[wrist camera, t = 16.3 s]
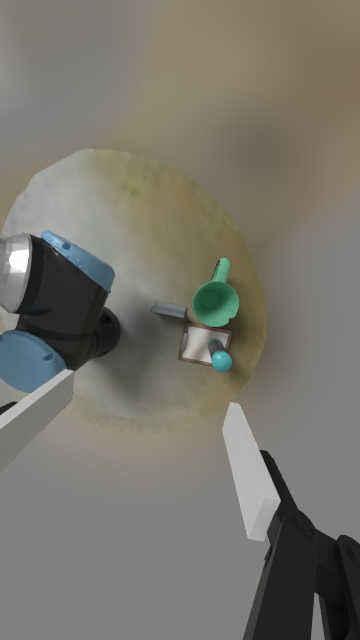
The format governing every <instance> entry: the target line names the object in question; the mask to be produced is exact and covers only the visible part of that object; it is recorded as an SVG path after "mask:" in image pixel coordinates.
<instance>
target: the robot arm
mask: <svg viewBox="0 0 360 640" xmlns="http://www.w3.org/2000/svg"><path fill="white" fill-rule="evenodd" d="M114 276H115V273H114V270H113V268H112V267H111V266H110V265H108V264H107V263H105V262H104V261H102V260H101V259H99V258H97V257H96V256H94V255H92V254H90V253H89V252H87V251H85V250H83V249H82V248H80V247H78V246H77V245H75V244H73V243H71V242H69V241H68V240H66V239H64V238H62V237H60V236H58V235H56V234H54V233H52V232H51V231H48V230H45V231H44V232H43V233H42V234H41V238H38V237H36V236H33V235H31V234H28V233H25V232H23V233H20V234H16V235H13V236H10V237H5V236H1V235H0V305H1V306H2V307H3V308H4V309H5V310H6V311H7V312H8V313H14V314H20V316H19V319H18V323H17V326H16V328H15V329H14V330H8V331H5V332H4V333H3V334H1V335H0V378H1V379H3V380H4V381H5V382H6V383H7V384H9V385H10V386H12V387H14V388H16V389H18V390H20V391H23V392H28V393H31V394H30V395H28V396H27V397H25V398H24V399H23V400H21V401H20V402H11V403H9V404H6V405H5V406H2V407H0V473H1V472H2V471H3V470H4V469H5V468H6V467H7V466H8V465H9V464H10V463H11V462H12V461H13V460H14V459H15V458H16V457H17V456H18V455H19V454H20V453H21V452H22V451H23V450H24V449H25V448H26V446H27V445H28V444H29V443H30V442H31V441H32V440H33V439H34V438H35V437H36V436H37V435H38V434H39V433H40V432H41V431H42V430H43V429H44V428H45V427H46V426H47V425H48V424H49V423H50V422H51V421H52V420H53V419H54V418H55V417H56V416H57V415H58V414H59V413H60V411H62V410H63V409H64V408H65V407H66V406H67V404H68V403H69V402H70V401H71V400H72V394H73V381H74V372H75V371H76V370H78V369H79V368H80V367H81V366H83V365H84V364H85V363H86V362H87V361H89V360H90V359H93V358H97V357H101V356H104V355H106V354H107V353H109V352H110V351H111V350H112V349H113V348H114V347H115V346H116V345H117V343H118V341H119V338H120V325H119V322H118V320H117V318H116V317H115V315H114V314H113V313H112V312H111V311H110V310H109V309H108V308H106V307H104V305H105V302H106V299H107V297H108V294H109V293H110V292H111V290H110V289H111V286H112V283H113V280H114ZM222 431H223V436H224V440H225V444H226V448H227V452H228V457H229V461H230V465H231V469H232V473H233V477H234V481H235V486H236V490H237V494H238V498H239V503H240V507H241V511H242V515H243V519H244V523H245V528H246V532H247V536H248V539H252V540H257V541H262V542H263V541H264V539H265V537H266V534H267V535H268V538H269V541H270V544H271V545H270V547H269V550H268V552H267V554H266V556H265V559H264V560H265V564H264V568H263V571H262V575H261V578H260V581H259V585H258V588H257V592H256V595H255V599H254V602H253V606H252V610H251V612H250V616H249V619H248V623H247V626H246V630H245V633H244V637H243V640H311V629H312V617H313V604H314V592H315V593H317V594H318V595H319V601H320V609H321V615H322V623H323V629H324V636H325V640H360V544H359V543H358V542H356V541H355V540H354V539H352V538H351V537H348V536H346V535H340V536H339V537H338V539H337V540H334V539H333V538H331V537H329V536H327V535H325V534H324V533H322V532H320V531H319V530H317V529H316V528H315V527H314V525H313V524H312V522H311V521H310V519H309V518H308V517H307V516H306V515H305V514H304V513H303V512H301V511H300V510H298V508H297V506H296V504H295V502H294V500H293V498H292V496H291V494H290V492H289V490H288V488H287V486H286V484H285V481H284V480H283V478H282V475H281V473H280V471H279V470H278V468H277V465H276V463H275V461H274V459H273V458H272V457H271V456H270V454H269V453H268V452H267V451H263V450H259V449H258V446H257V444H256V442H255V439H254V437H253V435H252V432H251V430H250V428H249V425H248V423H247V421H246V418H245V416H244V414H243V411H242V409H241V407H240V404H237V403H232V402H230V405H229V408H228V411H227V415H226V418H225V422H224V425H223V428H222Z"/></svg>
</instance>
